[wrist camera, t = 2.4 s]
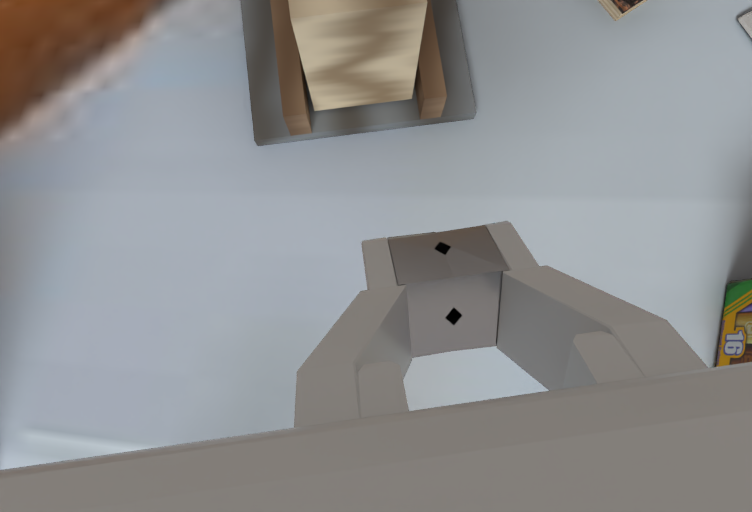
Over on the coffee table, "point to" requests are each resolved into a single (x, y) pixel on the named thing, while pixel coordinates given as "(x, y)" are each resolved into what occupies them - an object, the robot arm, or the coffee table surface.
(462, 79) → the chute
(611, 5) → the hardcover book
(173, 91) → the coffee table surface
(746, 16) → the laptop
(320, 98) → the block
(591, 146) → the coffee table surface
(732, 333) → the chalk box
